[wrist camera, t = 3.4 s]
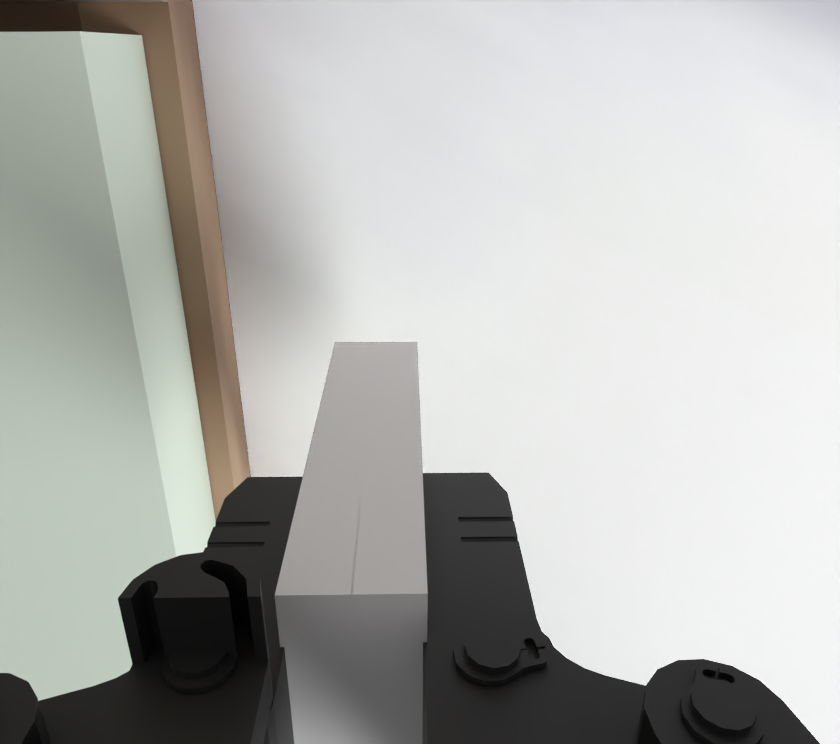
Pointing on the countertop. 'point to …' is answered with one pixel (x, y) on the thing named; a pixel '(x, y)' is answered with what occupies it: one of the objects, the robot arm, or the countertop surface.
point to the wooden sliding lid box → (176, 200)
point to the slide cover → (87, 359)
